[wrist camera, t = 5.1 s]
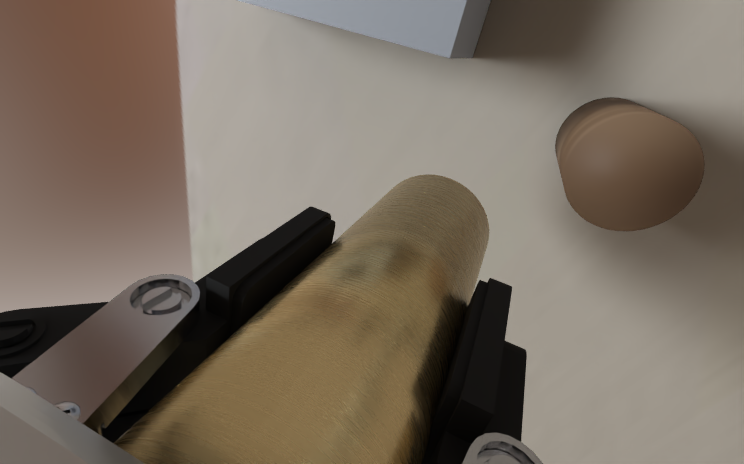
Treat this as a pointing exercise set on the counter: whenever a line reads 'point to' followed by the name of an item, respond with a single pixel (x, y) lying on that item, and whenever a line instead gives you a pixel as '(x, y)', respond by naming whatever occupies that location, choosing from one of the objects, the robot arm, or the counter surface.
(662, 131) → the short peg
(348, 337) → the tall peg
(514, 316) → the counter surface
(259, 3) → the socket block
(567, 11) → the counter surface
